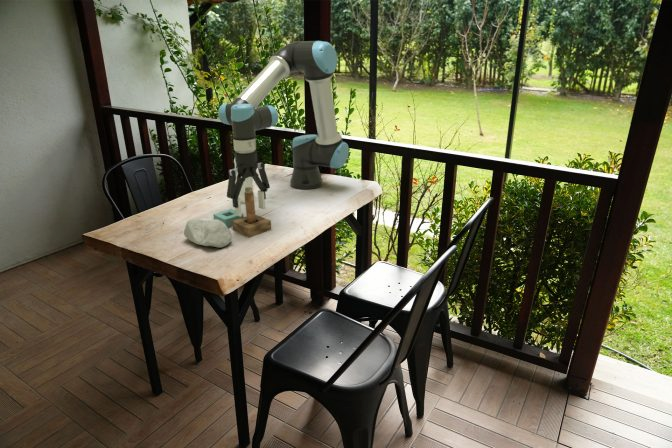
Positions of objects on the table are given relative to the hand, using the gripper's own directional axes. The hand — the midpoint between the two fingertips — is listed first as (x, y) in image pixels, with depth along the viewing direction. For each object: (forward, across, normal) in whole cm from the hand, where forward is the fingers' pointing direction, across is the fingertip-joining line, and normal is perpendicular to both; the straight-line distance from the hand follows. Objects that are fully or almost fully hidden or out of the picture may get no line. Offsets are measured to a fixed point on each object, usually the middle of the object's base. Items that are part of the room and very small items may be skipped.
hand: (250, 211), depth 169 cm
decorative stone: (+7, -18, +2) cm, 19 cm away
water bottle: (+7, +17, +28) cm, 34 cm away
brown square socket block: (+7, 0, 0) cm, 7 cm away
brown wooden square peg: (+7, 0, 0) cm, 7 cm away
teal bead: (+7, -2, +12) cm, 14 cm away
